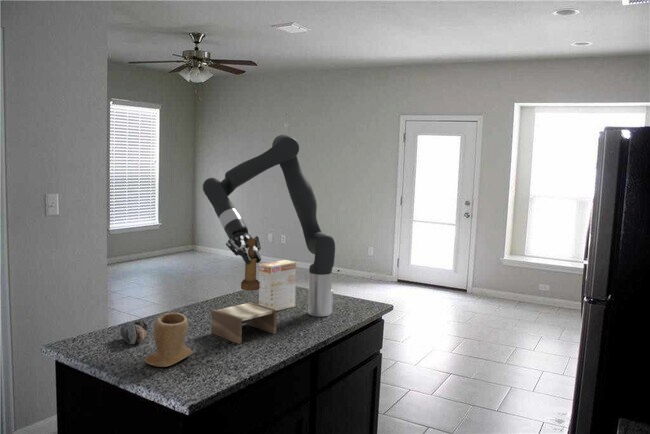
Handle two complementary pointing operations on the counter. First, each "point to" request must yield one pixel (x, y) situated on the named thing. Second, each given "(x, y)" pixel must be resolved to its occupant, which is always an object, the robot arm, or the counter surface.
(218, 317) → the brown upright panels
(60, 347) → the counter surface
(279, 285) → the coffeecake box
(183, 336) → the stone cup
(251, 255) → the brown wooden pepper mill
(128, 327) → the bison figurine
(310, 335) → the counter surface
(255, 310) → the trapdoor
